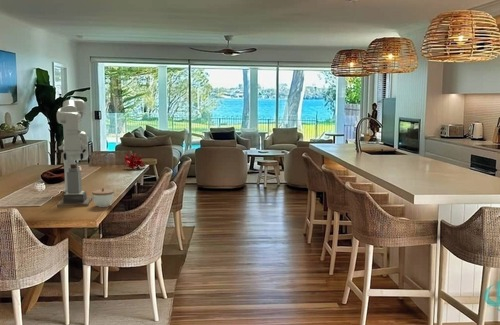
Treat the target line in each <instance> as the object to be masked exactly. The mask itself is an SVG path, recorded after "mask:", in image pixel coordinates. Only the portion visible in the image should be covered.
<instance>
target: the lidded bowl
mask: <svg viewBox="0 0 500 325" xmlns="http://www.w3.org/2000/svg"><path fill="white" fill-rule="evenodd" d="M92 201H93V202H94V204H95V206H97V207H99V208H107V207H109V206H110V205H111V204H112V203H113V201H114V190H113V189H105V188H104V187H101V189H97V190H93V191H92Z"/></svg>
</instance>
